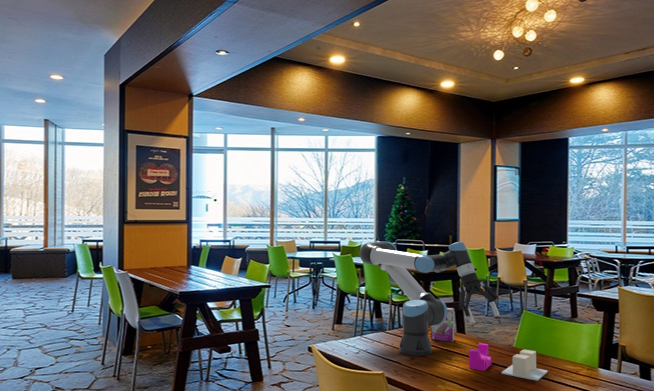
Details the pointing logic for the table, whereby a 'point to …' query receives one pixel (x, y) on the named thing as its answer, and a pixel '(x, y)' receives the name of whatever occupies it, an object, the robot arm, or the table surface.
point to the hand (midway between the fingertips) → (485, 319)
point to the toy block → (479, 358)
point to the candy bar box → (444, 328)
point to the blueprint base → (531, 376)
